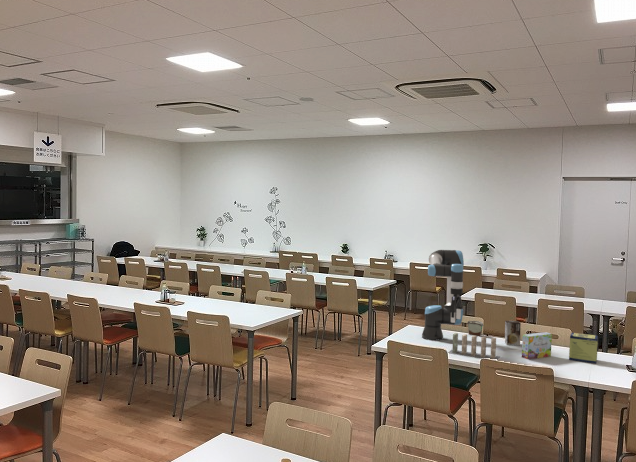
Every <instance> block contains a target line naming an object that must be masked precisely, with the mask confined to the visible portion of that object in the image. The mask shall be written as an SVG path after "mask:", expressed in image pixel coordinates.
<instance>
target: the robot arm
mask: <svg viewBox="0 0 636 462" xmlns="http://www.w3.org/2000/svg"><path fill="white" fill-rule="evenodd" d="M428 262H429V265H428V266H427V276H429V277H443V278H444V277H446V304H444V307H442V305H428V306H426V307H425V309H424V327H423V330H422V333H421V338H422V339H424V340H427V341H428V340H430V341H441V340H443V339H444V334H443V331H442V325H451V326H452V325H453V326H460V325H461V324H462V323H463V322H462V321H463V317H464V309H463V304H462V295H463V288H464V283H463V282H464V253H463V251H462V250H457V249H437V250H435V251H433V252H431V253H430V255H429V256H428Z"/></svg>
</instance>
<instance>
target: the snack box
mask: <svg viewBox="0 0 636 462" xmlns="http://www.w3.org/2000/svg"><path fill="white" fill-rule="evenodd" d="M552 340H553V334H552V333H550V332H546V331H545V332H544V331H543V332H537V333H536V332H535V333H527V334H522V343H521V358H522V359H525V360H534V359H542V358H549V357H550V358H551V357H552V342H553V341H552Z"/></svg>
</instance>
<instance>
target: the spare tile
mask: <svg viewBox="0 0 636 462" xmlns="http://www.w3.org/2000/svg"><path fill="white" fill-rule="evenodd" d="M458 340H459V333H458V332H454V333H452V349H451V350H452V353H456V352H457V351H459V350H458V345H459V344H458V343H459V341H458Z"/></svg>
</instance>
